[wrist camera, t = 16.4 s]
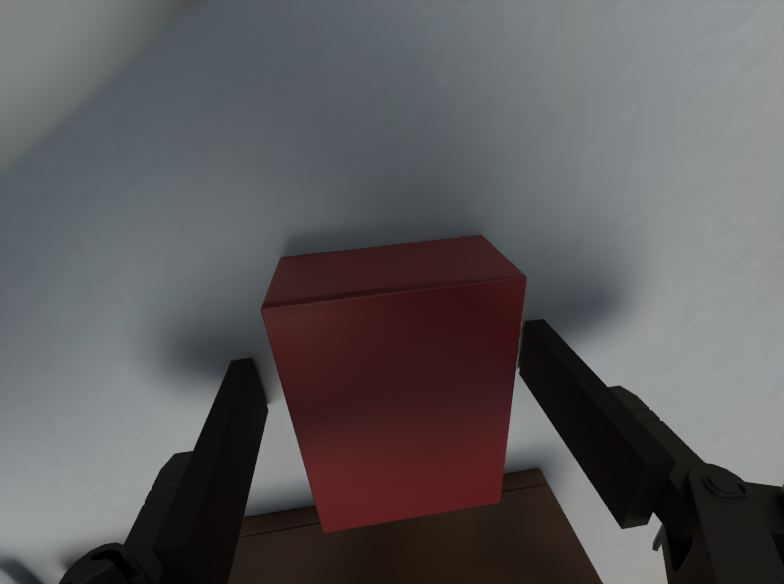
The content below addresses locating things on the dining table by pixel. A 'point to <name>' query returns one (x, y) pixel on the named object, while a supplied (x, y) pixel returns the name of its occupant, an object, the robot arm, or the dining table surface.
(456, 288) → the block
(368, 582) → the cabinet
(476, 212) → the dining table surface
